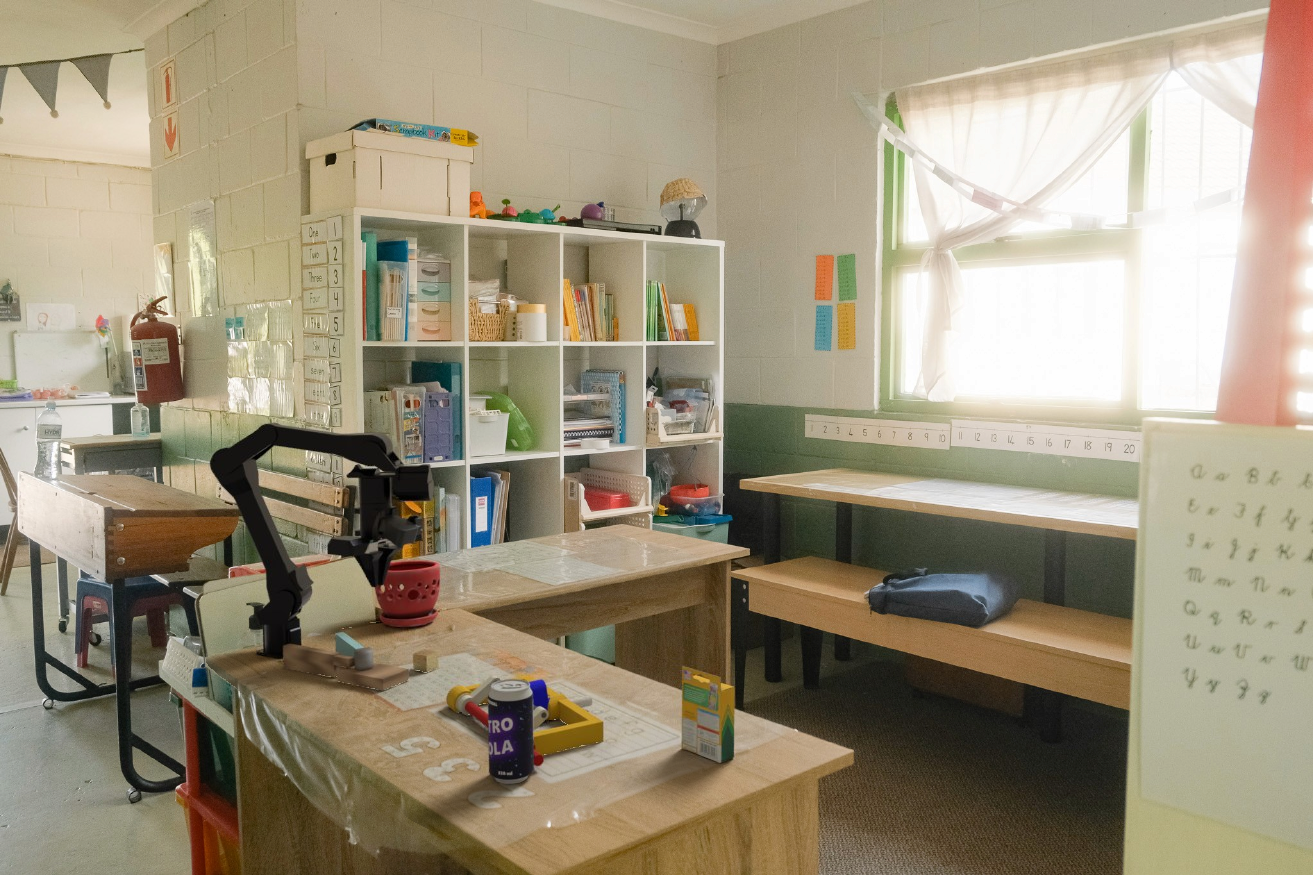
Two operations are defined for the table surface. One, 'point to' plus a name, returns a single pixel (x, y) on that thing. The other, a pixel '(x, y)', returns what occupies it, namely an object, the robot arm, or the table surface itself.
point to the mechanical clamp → (538, 715)
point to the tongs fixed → (355, 670)
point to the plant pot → (409, 593)
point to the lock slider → (425, 660)
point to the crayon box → (707, 715)
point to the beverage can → (510, 731)
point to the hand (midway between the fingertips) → (377, 586)
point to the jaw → (346, 644)
